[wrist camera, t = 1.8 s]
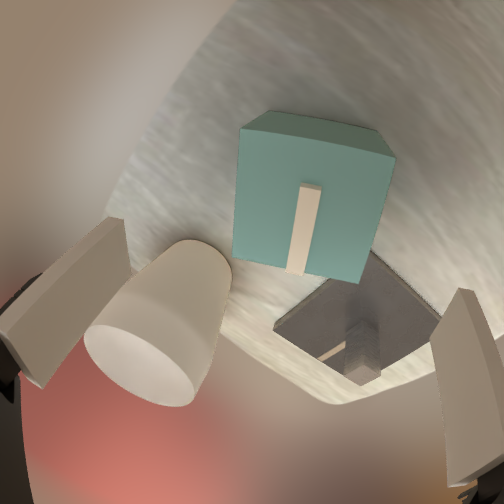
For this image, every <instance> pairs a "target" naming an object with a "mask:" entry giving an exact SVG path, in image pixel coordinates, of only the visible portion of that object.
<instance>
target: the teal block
mask: <svg viewBox="0 0 504 504" xmlns="http://www.w3.org/2000/svg"><path fill="white" fill-rule="evenodd" d="M395 162H396V157H395V156H394V154H393V153H392V151H391V150H390V148H389V147H388V145H387V144H386V143H385V141H384V140H383V138H382V137H381V136H380V134H379V133H378V132H377V131H375V130H371V129H366V128H362V127H358V126H353V125H349V124H344V123H339V122H334V121H329V120H324V119H319V118H313V117H307V116H301V115H295V114H289V113H282V112H275V111H268V112H266V113H264V114H263V115H261V116H259V117H258V118H256V119H254V120H253V121H251V122H250V123H248V124H246V125H245V126H243V127H242V128H240V136H239V150H238V164H237V179H236V194H235V210H234V226H233V243H232V257H233V258H238V259H242V260H247V261H252V262H256V263H261V264H266V265H270V266H275V267H280V268H285V269H286V271H285V272H286V273H291V274H295V275H300V276H303V275H304V273H308V274H313V275H318V276H323V277H327V278H332V279H337V280H342V281H347V282H351V283H356V284H359V281H360V278H361V275H362V272H363V270H364V267H365V264H366V261H367V258H368V255H369V252H370V249H371V246H372V243H373V240H374V237H375V233H376V230H377V227H378V224H379V220H380V217H381V214H382V210H383V207H384V203H385V200H386V196H387V193H388V189H389V185H390V181H391V178H392V174H393V170H394V166H395Z"/></svg>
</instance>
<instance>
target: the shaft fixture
mask: <svg viewBox="0 0 504 504" xmlns="http://www.w3.org/2000/svg"><path fill="white" fill-rule="evenodd" d="M440 320H441V317H440V316H439V315H438V314H437V313H436V312H435V311H434V310H433V309H432V308H431V307H430V306H429V305H428V304H427V303H426V302H425V301H424V300H423V299H422V298H421V297H420V296H419V295H418V294H417V293H416V292H415V291H414V290H413V289H412V288H411V287H410V286H408V285H407V284H406V283H405V282H404V281H403V280H402V279H401V278H400V277H399V276H398V275H397V274H396V273H395V272H394V271H392V270H391V269H390V268H389V267H388V266H387V265H386V264H385V263H384V262H383V261H381V260H380V259H379V258H378V257H377V256H376V255H375V254H374V253H373V252H371V251H370V252H369V255H368V258H367V261H366V264H365V267H364V270H363V272H362V275H361V278H360V281H359V284H356V283H351V282H347V281H342V280H337V279H332V278H330V279H329V280H327V281H326V282H325V283H324V284H323V285H322V286H320V287H319V288H318V289H317V290H315V291H314V292H313V293H312V294H311V295H309V296H308V297H307V298H306V299H305V300H303V301H302V302H301V303H300V304H298V305H297V306H296V307H295V308H293V309H292V310H291V311H290V312H288V313H287V314H286V315H285V316H283V317H282V318H281V319H280V320H278V321H277V322H276V323H275V324H274V328H273V331H274V332H276V333H277V334H279V335H280V336H282V337H283V338H285V339H287V340H288V341H290V342H291V343H293V344H294V345H296V346H297V347H299V348H300V349H302V350H304V351H305V352H307V353H308V354H310V355H311V356H313V357H315V358H316V359H318V360H319V361H321V362H323V363H324V364H326V365H327V366H329V367H331V368H332V369H334V370H335V371H337V372H339V373H340V374H342V375H344V377H346V378H348V379H349V380H351V381H353V382H354V383H356V384H358V385H359V386H362V385H364V384H366V383H368V382H370V381H372V380H374V379H376V378H378V377H379V376H381V370H382V369H384V368H386V367H388V366H389V365H391V364H393V363H395V362H396V361H398V360H400V359H401V358H403V357H405V356H407V355H408V354H410V353H411V352H413V351H415V350H416V349H418V348H420V347H421V346H423V345H424V344H426V343H427V342H429V341H430V339H429V338H430V336H431V335H432V333H433V331H434V330H435V328H436V327H437V325H438V323H439V322H440Z"/></svg>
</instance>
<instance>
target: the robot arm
mask: <svg viewBox="0 0 504 504" xmlns="http://www.w3.org/2000/svg"><path fill="white" fill-rule="evenodd" d="M131 275H132V272H131V266H130V260H129V254H128V248H127V241H126V234H125V227H124V219H118V218H113V217H108V218H106V219H105V220H104V221H103V222H101V223H100V224H99V225H98V226H97V227H95V228H94V229H93V230H92V231H90V232H89V233H88V234H87V235H86V236H85V237H83V238H82V239H81V240H80V241H79V242H78V243H76V244H75V245H74V246H73V247H72V248H71V249H69V250H68V251H67V252H66V253H65V254H64V255H62V257H60V258H59V259H58V260H57V261H56V262H55V263H54V264H53V265H51V266H50V267H49V268H48V269H47V270H46V271H45V272H44V273H40V274H39V275H37V276H35V277H33V278H32V279H30V280H29V281H28V282H27V283H26V284H25V285H24V286H23V287H22V288H21V290H19V291H18V292H16V293H15V294H14V297H12V298H11V299H10V300H9V301H8V302H7V303H5V305H4V306H3V307H2V308H1V309H0V504H34V503H33V499H32V493H31V489H30V483H29V478H28V472H27V466H26V458H25V451H24V442H23V432H22V418H21V395H20V394H21V393H20V378H19V376H18V373H19V372H20V370H22V372H23V373H24V375H25V376H26V377H27V379H28V380H29V381H31V382H32V383H34V384H35V385H37V386H38V387H40V388H41V389H43V388H44V387H45V385H46V384H47V382H48V381H49V380H50V378H51V377H52V375H53V374H54V373H55V371H56V370H57V369H58V367H59V365H60V364H61V363H62V362H63V360H64V359H65V358H66V356H67V355H68V354H69V352H70V351H71V350H72V348H73V347H74V346H75V344H76V343H77V342H78V340H79V339H80V338H81V337H82V335H83V334H84V333H85V331H86V330H87V329H88V328H89V326H90V325H91V324H92V323H93V321H94V320H95V319H96V318H97V316H98V315H99V314H100V313H101V311H102V310H103V309H104V308H105V306H106V305H107V304H108V303H109V302H110V300H111V299H112V298H113V297H114V295H115V294H116V293H117V292H118V291H119V289H120V288H121V287H122V286H123V285H124V284H125V282H126V281H127V280H128V279H129V278H130V276H131ZM429 339H430V343H431V348H432V353H433V358H434V363H435V369H436V374H437V380H438V386H439V392H440V399H441V406H442V414H443V423H444V433H445V444H446V458H447V481H448V483H447V486H448V487H454V486H462V485H466V484H468V483H470V482H472V481H474V480H475V479H477V481H478V485H476V486H474V487H473V488H471V489H469V490H467V491H465V492H463V493H461V494H460V495H459V496H458V499H460V498H463V497H464V496H466V495H468V497H467V498H466V499H464V500H462V502H463V504H504V367H503V364H502V361H501V358H500V355H499V352H498V349H497V347H496V344H495V341H494V338H493V336H492V333H491V330H490V328H489V325H488V323H487V320H486V318H485V316H484V313H483V311H482V309H481V306H480V304H479V302H478V299H477V297H476V295H475V293H474V291H472V290H468V289H463V288H458V290H457V292H456V293H455V295H454V297H453V299H452V301H451V302H450V304H449V306H448V308H447V310H446V311H445V313H444V315H443V316H442V318H441V320H440V322H439V323H438V325H437V327H436V328H435V330H434V331H433V333H432V335H431V336H430V338H429Z"/></svg>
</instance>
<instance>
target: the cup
mask: <svg viewBox="0 0 504 504" xmlns="http://www.w3.org/2000/svg"><path fill="white" fill-rule="evenodd" d="M231 282H232V272H231V269H230V266H229V264H228V262H227V261H226V259H225V258H224V257H223V255H222V254H221V253H220V252H218V251H217V250H216V249H215V248H213V247H212V246H210V245H208V244H206V243H204V242H201V241H197V240H182V241H179V242H177V243H175V244H173V245H172V246H171V247H170V248H168V249H167V250H166V251H165V252H163V253H162V254H161V255H160V256H158V257H157V258H156V259H155V260H153V261H152V262H151V263H150V264H149V265H147V266H146V267H145V268H144V269H142V270H141V271H140V272H139V273H138V274H137V275H135V276H134V277H133V278H132V279H130V280H129V281H128V282H127V283H126V284H124V285H123V286H122V287H121V288H120V289H119V291H118V292H117V293H116V294H115V295H114V297H113V298H112V299H111V300H110V302H109V303H108V304H107V305H106V306H105V308H104V309H103V310H102V311H101V313H100V314H99V315H98V316H97V318H96V319H95V320H94V321H93V323H92V324H91V325H90V326H89V328H88V329H87V330H86V331H85V334H84V343H85V346H86V349H87V351H88V352H89V355H90V356H91V358H92V359H93V361H94V362H95V363H96V364H97V366H98V367H99V368H100V369H101V370H102V371H103V372H104V373H105V374H106V375H107V376H108V377H109V378H111V379H112V380H113V381H114V382H116V383H117V384H118V385H120V386H121V387H123V388H124V389H126V390H127V391H129V392H131V393H133V394H134V395H136V396H138V397H141V398H143V399H145V400H148V401H150V402H153V403H156V404H160V405H165V406H173V407H178V406H185V405H187V404H189V403H190V402H192V400H193V399H194V397H195V395H196V393H197V391H198V389H199V387H200V385H201V383H202V382H203V380H204V378H205V376H206V374H207V373H208V371H209V369H210V366H211V363H212V360H213V356H214V352H215V347H216V344H217V339H218V335H219V331H220V327H221V323H222V319H223V315H224V311H225V307H226V303H227V299H228V295H229V291H230V287H231Z"/></svg>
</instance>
